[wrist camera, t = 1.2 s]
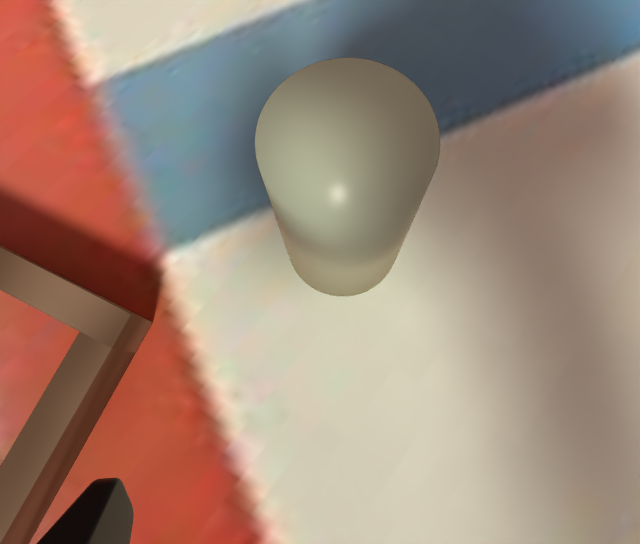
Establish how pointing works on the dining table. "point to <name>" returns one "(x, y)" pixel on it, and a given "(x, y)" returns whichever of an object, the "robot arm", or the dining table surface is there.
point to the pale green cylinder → (346, 168)
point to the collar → (61, 389)
